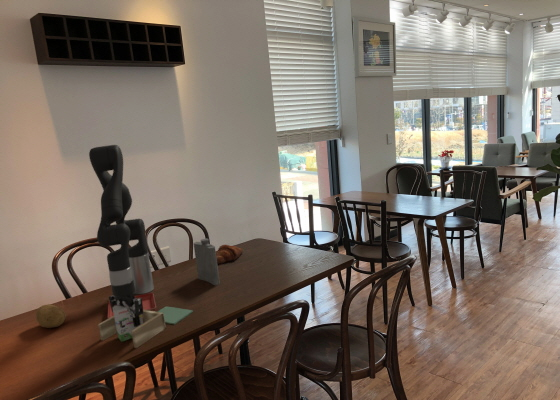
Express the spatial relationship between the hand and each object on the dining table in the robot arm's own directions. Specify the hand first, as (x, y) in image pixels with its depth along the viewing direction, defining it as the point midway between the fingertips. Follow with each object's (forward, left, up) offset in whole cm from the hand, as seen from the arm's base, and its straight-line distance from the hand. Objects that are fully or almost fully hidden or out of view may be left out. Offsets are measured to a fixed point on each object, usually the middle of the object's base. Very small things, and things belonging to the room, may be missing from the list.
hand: (129, 324), depth 153 cm
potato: (-38, -4, -5) cm, 38 cm away
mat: (+3, +17, -4) cm, 18 cm away
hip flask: (-4, +52, -5) cm, 52 cm away
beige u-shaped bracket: (0, +1, -4) cm, 4 cm away
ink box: (0, 0, -5) cm, 5 cm away
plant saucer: (-16, +16, -5) cm, 23 cm away
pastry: (-14, +82, -5) cm, 83 cm away
